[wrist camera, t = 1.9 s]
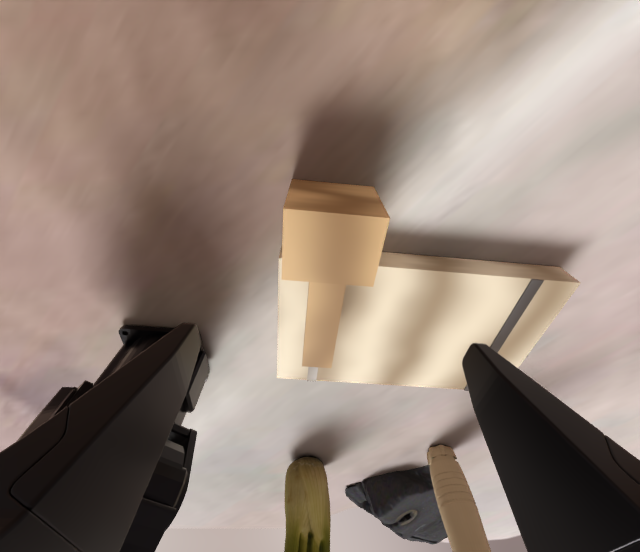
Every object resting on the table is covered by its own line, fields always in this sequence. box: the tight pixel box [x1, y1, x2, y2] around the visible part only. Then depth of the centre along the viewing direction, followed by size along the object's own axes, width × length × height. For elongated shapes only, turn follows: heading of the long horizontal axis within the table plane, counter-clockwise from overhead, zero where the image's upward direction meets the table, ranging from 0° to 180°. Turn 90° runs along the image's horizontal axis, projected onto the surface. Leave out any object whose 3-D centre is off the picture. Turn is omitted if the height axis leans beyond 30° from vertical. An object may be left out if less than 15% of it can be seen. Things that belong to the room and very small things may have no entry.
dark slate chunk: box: [345, 465, 448, 544], centre depth 43 cm, size 15×22×5 cm
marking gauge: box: [282, 179, 390, 368], centre depth 18 cm, size 5×11×5 cm, turn 175°
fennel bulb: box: [284, 457, 330, 552], centre depth 33 cm, size 6×5×12 cm
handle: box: [427, 445, 491, 552], centre depth 29 cm, size 5×6×15 cm
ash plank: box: [277, 247, 580, 391], centre depth 23 cm, size 20×12×2 cm, turn 85°
